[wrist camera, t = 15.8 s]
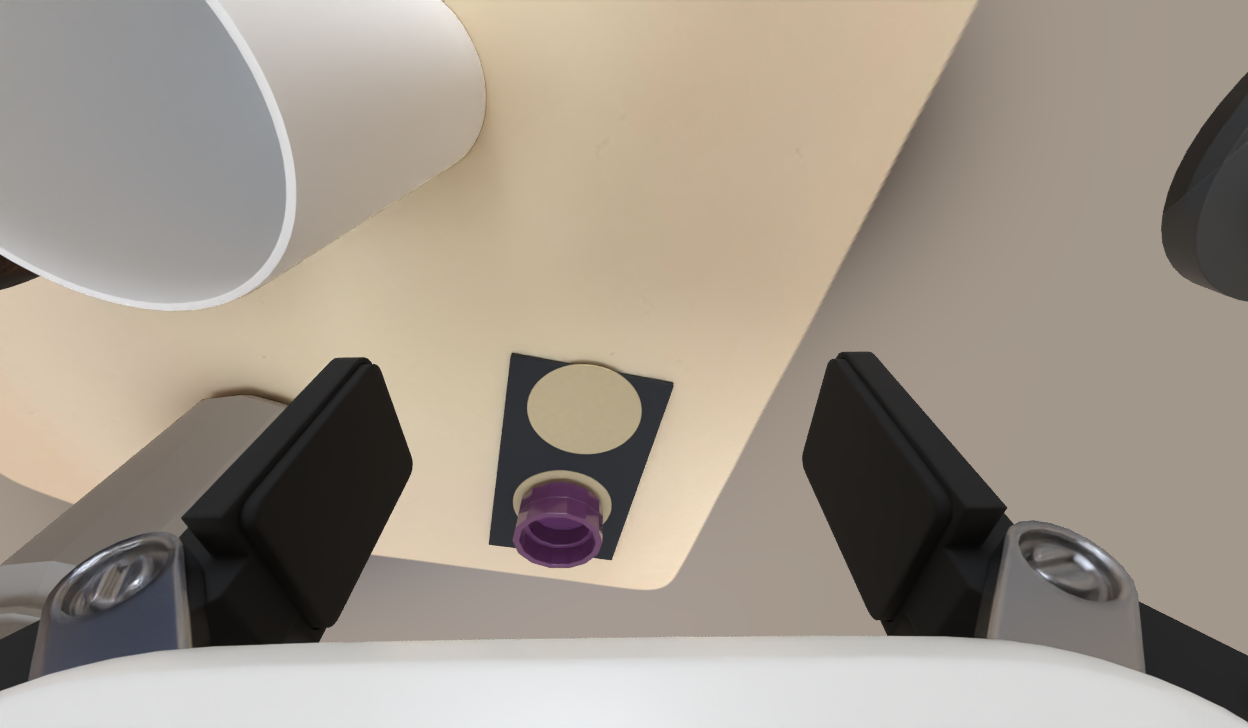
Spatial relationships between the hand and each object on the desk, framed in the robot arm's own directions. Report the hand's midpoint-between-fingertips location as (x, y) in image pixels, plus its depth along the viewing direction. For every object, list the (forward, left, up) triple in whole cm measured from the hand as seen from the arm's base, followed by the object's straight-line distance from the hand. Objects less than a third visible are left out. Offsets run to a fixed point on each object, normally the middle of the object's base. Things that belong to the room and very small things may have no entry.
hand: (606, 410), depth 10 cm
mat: (+20, +6, -18) cm, 28 cm away
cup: (0, -11, -18) cm, 22 cm away
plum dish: (+23, +7, -18) cm, 30 cm away
